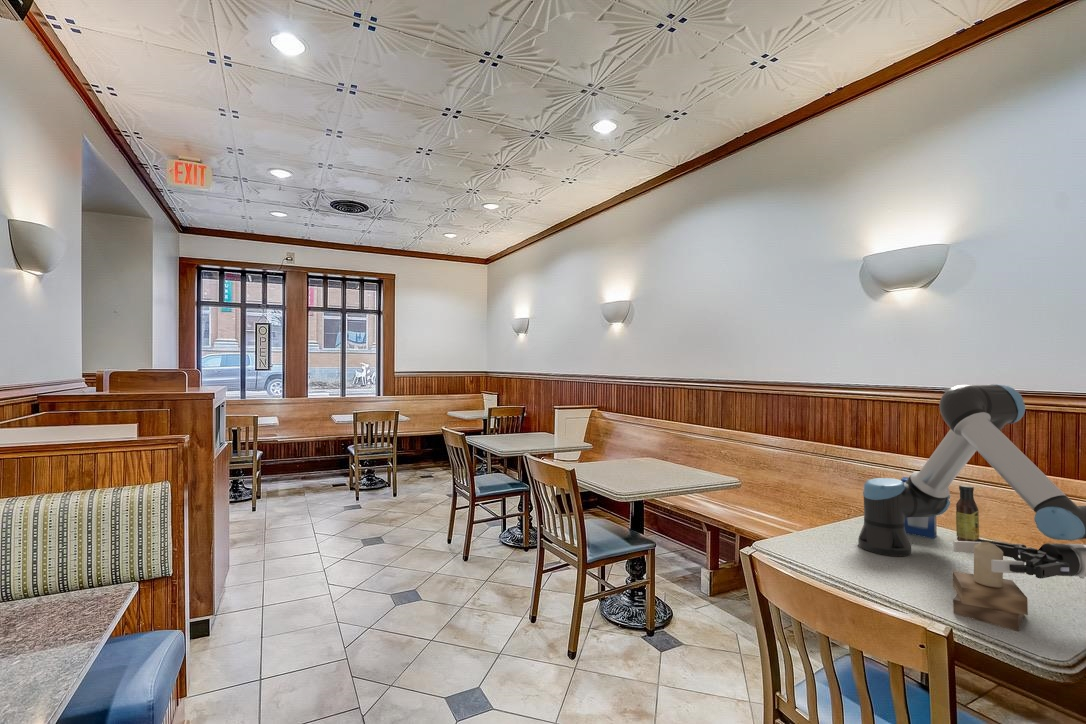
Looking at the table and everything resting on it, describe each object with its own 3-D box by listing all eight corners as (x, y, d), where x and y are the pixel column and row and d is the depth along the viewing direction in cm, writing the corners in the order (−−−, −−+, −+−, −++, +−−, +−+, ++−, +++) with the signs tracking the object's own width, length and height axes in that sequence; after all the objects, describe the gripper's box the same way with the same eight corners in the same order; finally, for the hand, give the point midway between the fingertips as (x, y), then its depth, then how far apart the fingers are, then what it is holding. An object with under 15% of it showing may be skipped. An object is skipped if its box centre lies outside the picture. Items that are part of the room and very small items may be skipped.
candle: (1007, 589, 124) (1008, 548, 124) (980, 585, 125) (981, 545, 126) (994, 581, 129) (995, 541, 130) (968, 577, 131) (969, 538, 131)
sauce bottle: (981, 546, 176) (980, 489, 177) (958, 543, 180) (957, 486, 180) (977, 541, 182) (976, 485, 182) (955, 538, 185) (954, 483, 186)
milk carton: (936, 534, 189) (936, 480, 190) (934, 538, 185) (933, 483, 185) (904, 528, 196) (903, 476, 197) (901, 532, 192) (900, 479, 192)
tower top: (962, 603, 125) (962, 587, 125) (952, 586, 136) (952, 571, 136) (1027, 615, 119) (1027, 598, 119) (1012, 595, 130) (1012, 580, 130)
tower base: (953, 615, 128) (953, 599, 128) (962, 601, 136) (962, 585, 136) (1018, 633, 119) (1018, 616, 119) (1024, 617, 127) (1023, 600, 127)
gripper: (1118, 597, 112) (1011, 591, 115) (1027, 556, 137) (940, 553, 140) (1117, 563, 112) (1010, 558, 115) (1026, 528, 137) (940, 525, 140)
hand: (972, 555), depth 128 cm, fingers open, 13 cm apart
